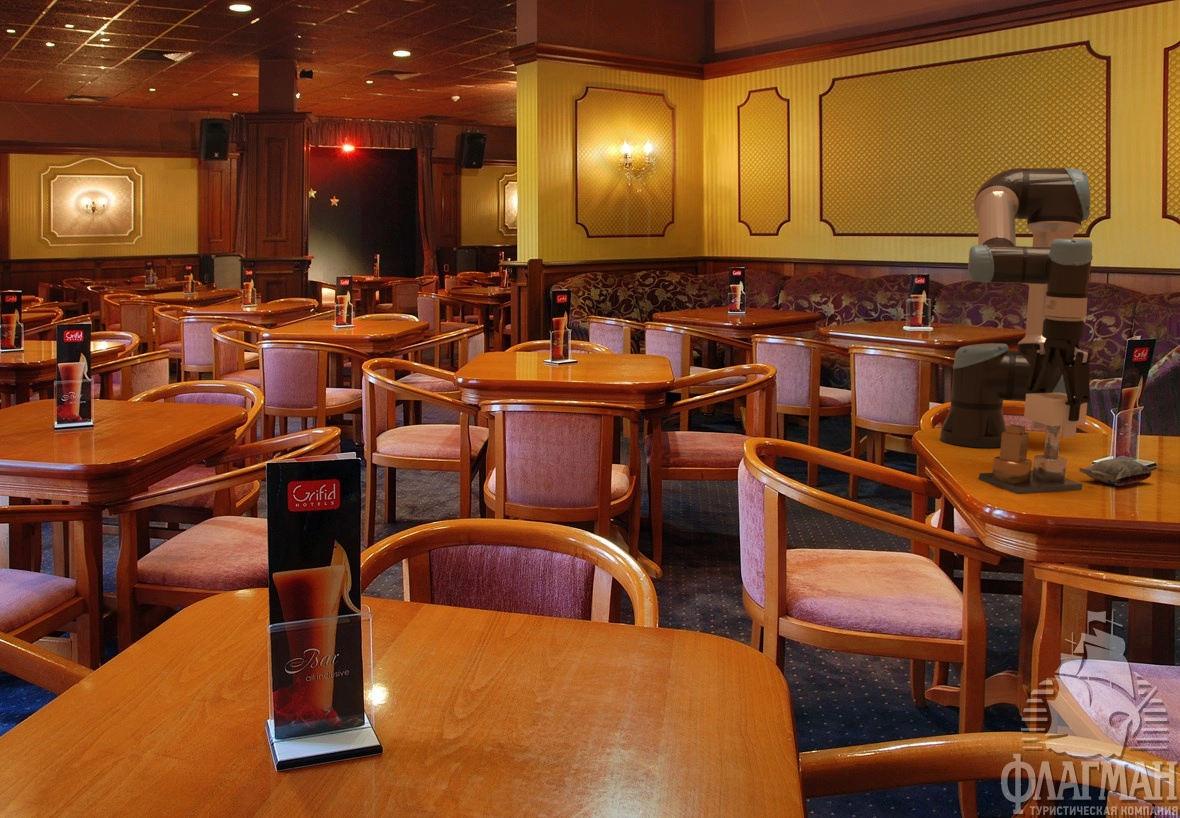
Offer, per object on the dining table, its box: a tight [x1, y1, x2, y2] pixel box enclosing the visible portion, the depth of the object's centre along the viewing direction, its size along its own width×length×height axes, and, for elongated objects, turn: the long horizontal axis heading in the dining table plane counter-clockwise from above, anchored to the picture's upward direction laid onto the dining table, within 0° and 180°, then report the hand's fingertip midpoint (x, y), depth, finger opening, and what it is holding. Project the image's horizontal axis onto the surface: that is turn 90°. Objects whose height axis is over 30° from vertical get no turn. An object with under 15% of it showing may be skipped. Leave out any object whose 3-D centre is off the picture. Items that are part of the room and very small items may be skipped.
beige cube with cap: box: [1023, 392, 1088, 427], centre depth 215 cm, size 8×8×5 cm
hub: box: [992, 424, 1033, 484], centre depth 214 cm, size 7×7×11 cm
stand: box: [1032, 425, 1068, 481], centre depth 216 cm, size 6×6×11 cm
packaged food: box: [1079, 458, 1152, 487], centre depth 219 cm, size 9×12×5 cm
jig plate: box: [978, 469, 1084, 495], centre depth 216 cm, size 15×12×1 cm
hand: (1053, 432), depth 216 cm, fingers closed on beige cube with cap, 8 cm apart
